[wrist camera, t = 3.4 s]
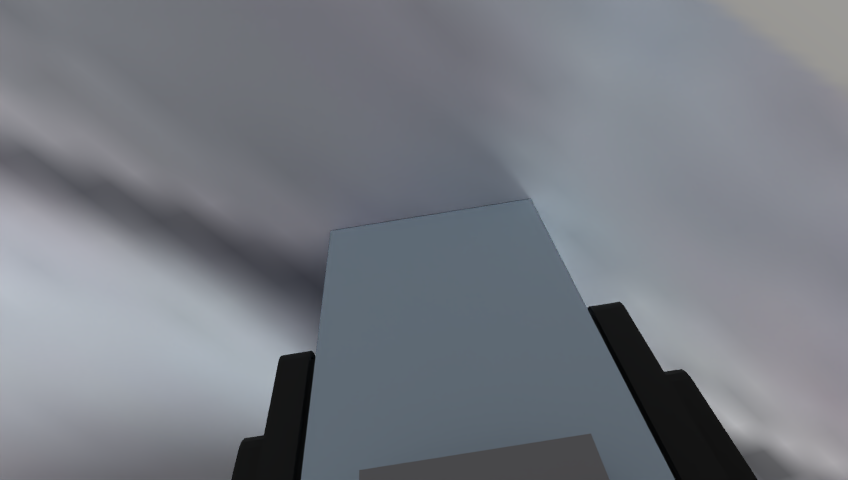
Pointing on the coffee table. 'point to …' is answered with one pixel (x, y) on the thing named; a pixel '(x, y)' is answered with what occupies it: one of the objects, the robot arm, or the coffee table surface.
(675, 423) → the robot arm
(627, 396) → the cabinet block
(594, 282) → the coffee table surface
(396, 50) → the coffee table surface
